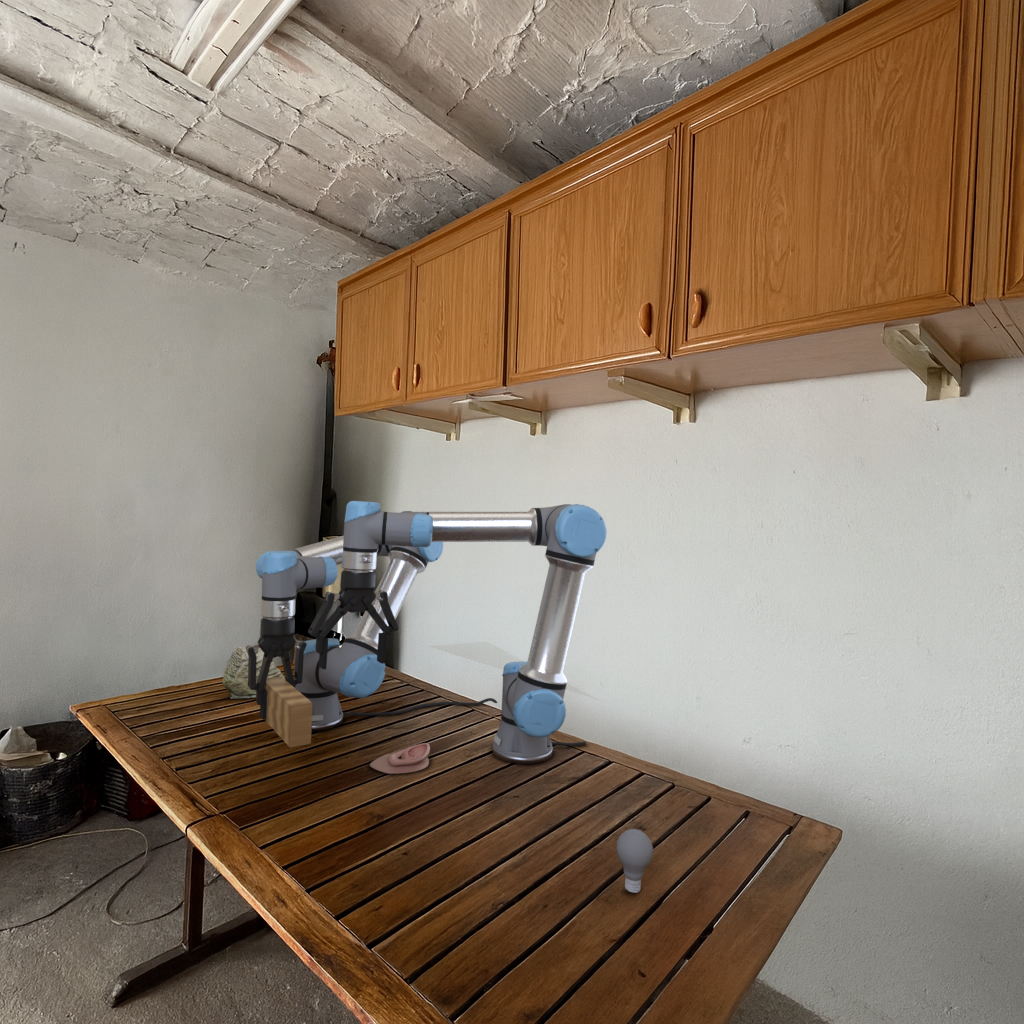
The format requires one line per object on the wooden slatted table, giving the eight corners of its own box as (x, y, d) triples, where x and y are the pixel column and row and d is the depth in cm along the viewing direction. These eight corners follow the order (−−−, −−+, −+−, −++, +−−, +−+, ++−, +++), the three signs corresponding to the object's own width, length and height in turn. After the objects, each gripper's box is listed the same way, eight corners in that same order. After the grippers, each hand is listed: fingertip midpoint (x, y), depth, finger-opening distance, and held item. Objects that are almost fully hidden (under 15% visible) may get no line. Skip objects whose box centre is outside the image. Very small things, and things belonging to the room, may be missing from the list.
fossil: (218, 695, 195) (220, 647, 195) (278, 685, 208) (279, 640, 207) (228, 703, 189) (230, 653, 188) (289, 692, 201) (290, 645, 201)
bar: (260, 715, 150) (261, 678, 150) (279, 712, 153) (281, 676, 153) (289, 747, 132) (291, 706, 132) (311, 743, 135) (312, 702, 135)
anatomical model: (364, 753, 147) (384, 735, 158) (364, 770, 147) (383, 751, 158) (419, 760, 144) (435, 742, 155) (418, 778, 144) (434, 758, 156)
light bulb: (610, 879, 108) (613, 822, 108) (644, 879, 109) (647, 822, 109) (619, 902, 102) (622, 840, 102) (655, 901, 103) (658, 840, 103)
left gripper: (242, 623, 140) (238, 727, 141) (320, 617, 151) (316, 714, 151) (234, 617, 146) (230, 717, 147) (309, 611, 157) (306, 705, 157)
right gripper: (308, 572, 131) (301, 674, 131) (416, 572, 145) (410, 663, 146) (297, 568, 137) (290, 665, 137) (402, 568, 152) (396, 656, 152)
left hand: (274, 715), depth 149 cm, fingers closed on bar, 4 cm apart
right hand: (352, 665), depth 141 cm, fingers open, 13 cm apart
